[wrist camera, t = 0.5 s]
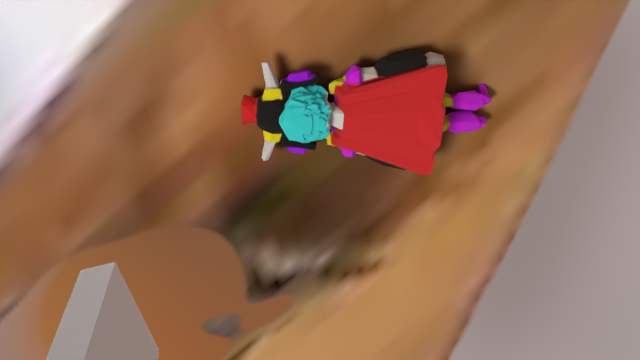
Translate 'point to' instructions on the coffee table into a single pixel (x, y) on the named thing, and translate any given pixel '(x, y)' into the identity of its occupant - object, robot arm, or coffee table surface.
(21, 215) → the coffee table surface
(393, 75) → the toy
